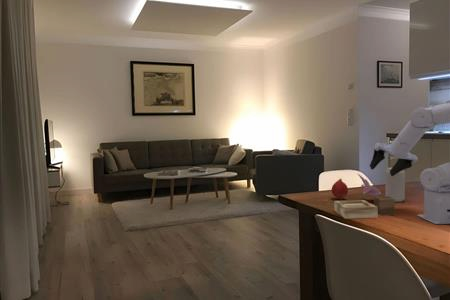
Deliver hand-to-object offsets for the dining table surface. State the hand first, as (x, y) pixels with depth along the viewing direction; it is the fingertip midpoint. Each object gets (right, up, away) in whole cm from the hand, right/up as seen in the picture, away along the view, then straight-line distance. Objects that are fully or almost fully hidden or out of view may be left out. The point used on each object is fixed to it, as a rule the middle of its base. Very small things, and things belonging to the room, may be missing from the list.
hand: (381, 170), depth 125 cm
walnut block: (-2, -13, -6) cm, 15 cm away
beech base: (-11, -13, -7) cm, 19 cm away
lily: (0, -12, +10) cm, 16 cm away
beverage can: (+10, -12, +11) cm, 19 cm away
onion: (-9, -12, +14) cm, 21 cm away
